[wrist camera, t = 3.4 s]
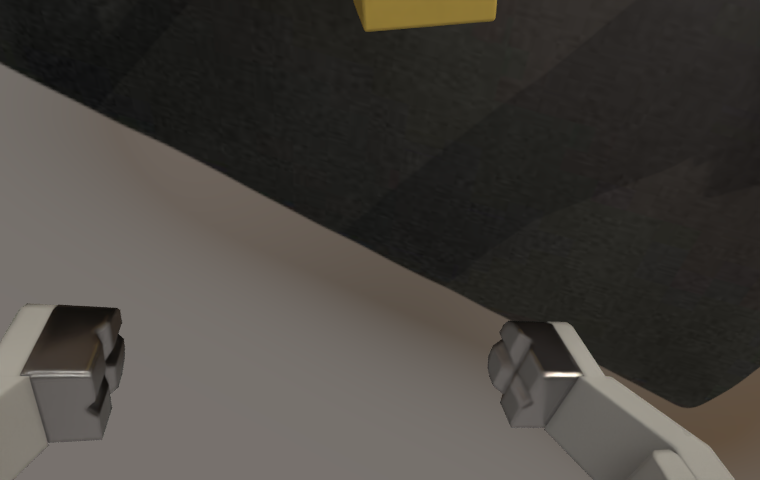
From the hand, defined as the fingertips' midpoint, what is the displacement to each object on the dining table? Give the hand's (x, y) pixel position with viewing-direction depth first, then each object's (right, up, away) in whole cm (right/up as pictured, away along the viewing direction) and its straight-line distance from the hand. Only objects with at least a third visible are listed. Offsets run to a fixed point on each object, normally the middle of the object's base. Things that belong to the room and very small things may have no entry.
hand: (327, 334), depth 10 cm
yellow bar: (+1, +18, -4) cm, 19 cm away
